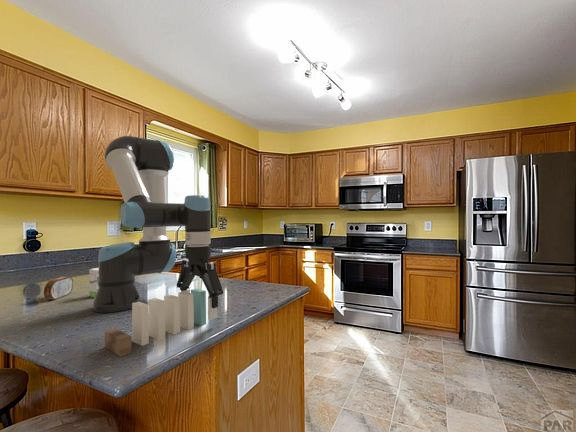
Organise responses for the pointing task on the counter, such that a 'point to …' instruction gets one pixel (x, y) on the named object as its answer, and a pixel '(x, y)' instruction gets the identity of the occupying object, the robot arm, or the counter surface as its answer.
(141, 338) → the ivory domino
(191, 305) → the ivory domino
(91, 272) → the ink box
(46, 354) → the counter surface
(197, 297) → the teal domino
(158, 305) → the ivory domino
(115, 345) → the walnut block
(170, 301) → the ivory domino
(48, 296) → the tin
